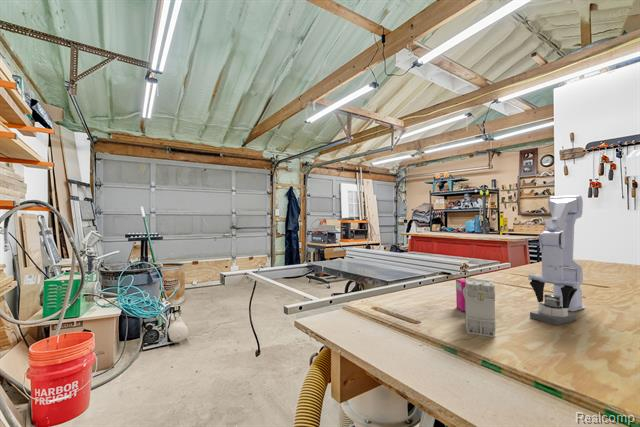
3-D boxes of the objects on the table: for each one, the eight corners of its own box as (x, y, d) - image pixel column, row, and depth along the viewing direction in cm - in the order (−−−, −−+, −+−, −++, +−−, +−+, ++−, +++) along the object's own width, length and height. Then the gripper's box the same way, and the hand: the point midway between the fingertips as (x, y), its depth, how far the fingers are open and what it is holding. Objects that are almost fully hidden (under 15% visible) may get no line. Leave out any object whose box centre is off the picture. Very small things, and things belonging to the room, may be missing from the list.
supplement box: (471, 308, 111) (471, 278, 111) (478, 313, 105) (478, 282, 105) (455, 307, 111) (455, 278, 111) (461, 312, 105) (461, 281, 106)
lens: (548, 310, 102) (547, 293, 102) (563, 313, 98) (563, 296, 98) (542, 312, 100) (541, 295, 100) (557, 316, 96) (557, 298, 96)
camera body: (549, 312, 105) (549, 300, 105) (576, 320, 98) (576, 306, 98) (530, 317, 100) (529, 304, 100) (556, 325, 93) (556, 311, 93)
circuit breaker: (489, 321, 97) (489, 277, 97) (495, 337, 84) (495, 286, 84) (464, 318, 100) (464, 275, 100) (466, 333, 87) (466, 283, 87)
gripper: (523, 263, 104) (523, 300, 104) (571, 270, 91) (572, 312, 90) (534, 262, 107) (534, 298, 107) (582, 268, 94) (583, 309, 93)
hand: (552, 304), depth 99 cm, fingers open, 7 cm apart
